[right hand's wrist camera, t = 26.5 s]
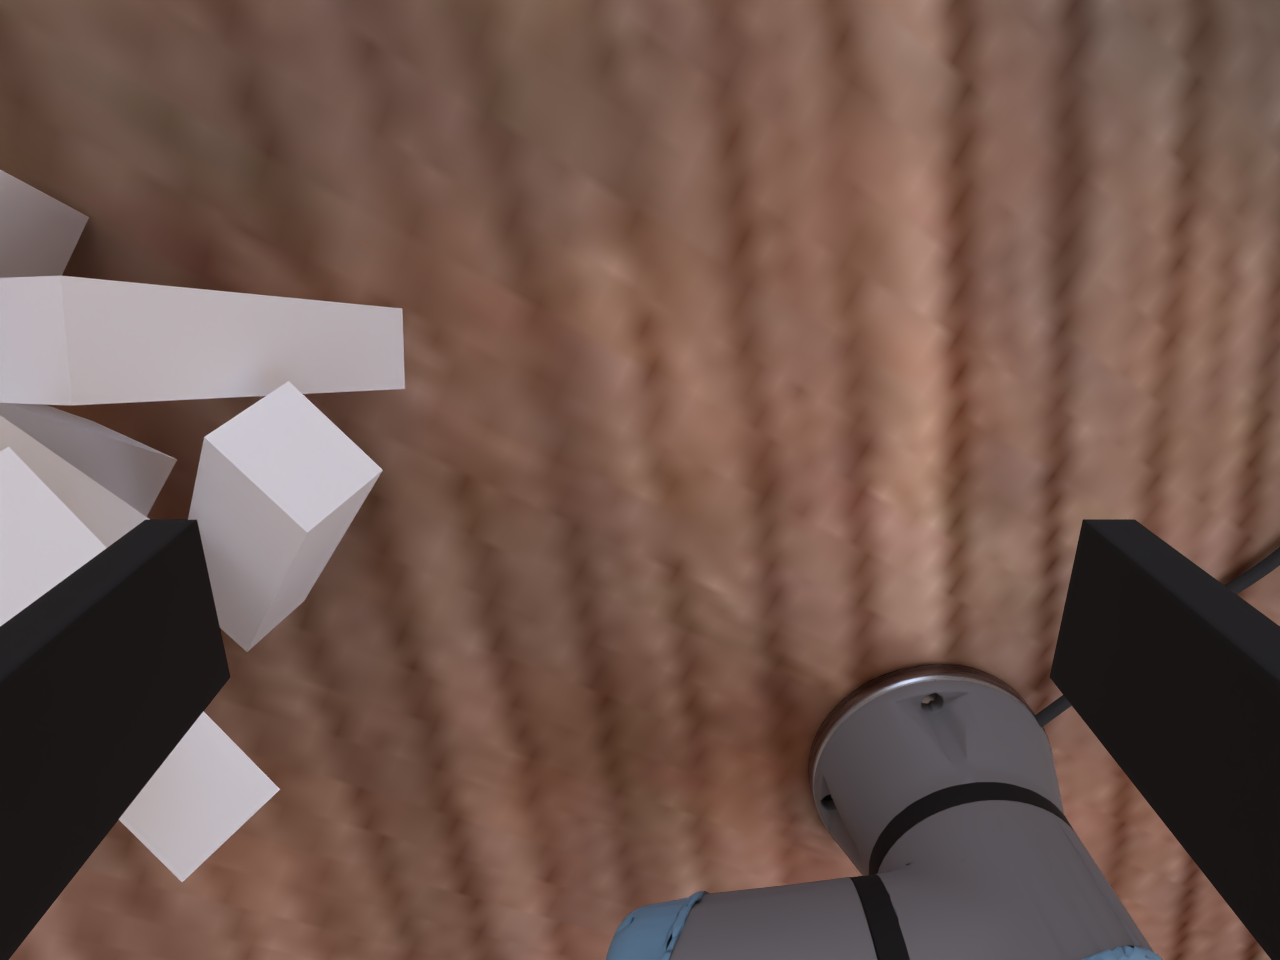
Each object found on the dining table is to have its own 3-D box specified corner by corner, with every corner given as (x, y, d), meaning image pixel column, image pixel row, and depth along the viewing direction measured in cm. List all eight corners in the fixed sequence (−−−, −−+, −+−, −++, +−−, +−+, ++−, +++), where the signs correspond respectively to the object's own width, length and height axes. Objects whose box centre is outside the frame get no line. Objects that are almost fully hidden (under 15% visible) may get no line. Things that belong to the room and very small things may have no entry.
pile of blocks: (475, 686, 59) (633, 948, 26) (-16, 848, 50) (-738, 1580, 17) (348, 197, 56) (348, -200, 23) (-198, 269, 47) (-1503, -230, 14)
